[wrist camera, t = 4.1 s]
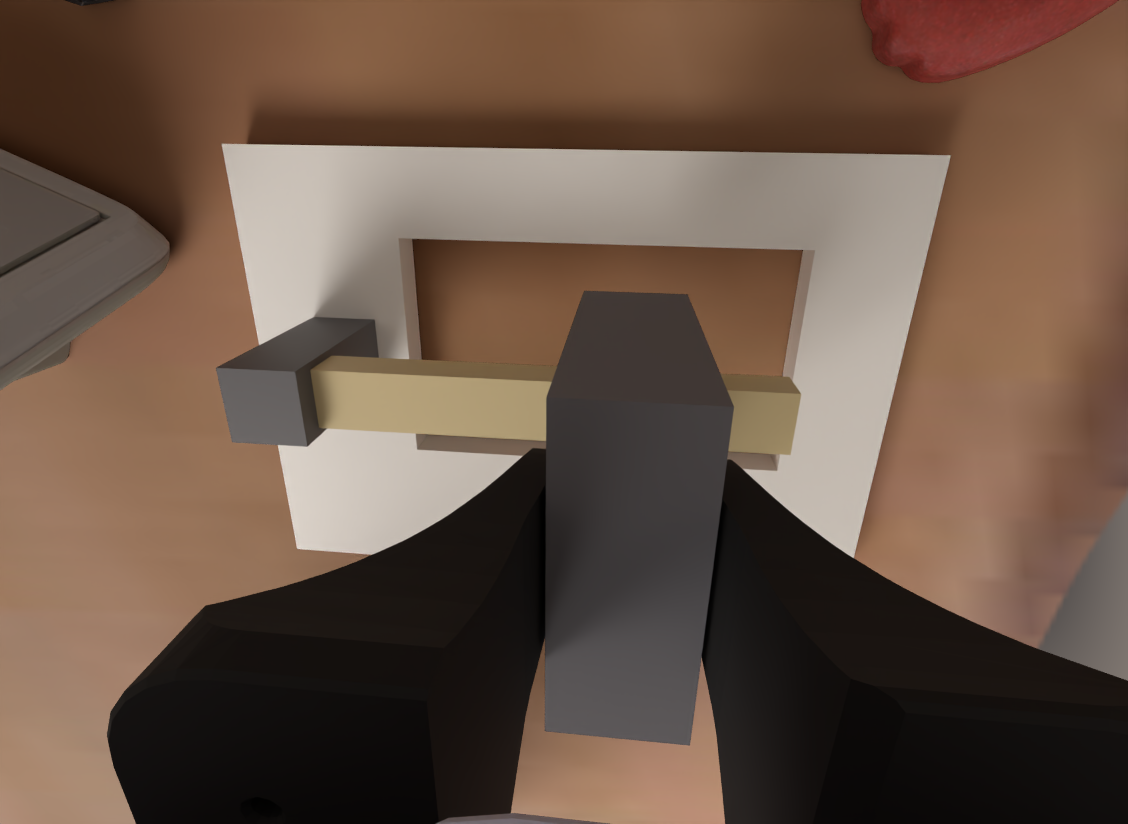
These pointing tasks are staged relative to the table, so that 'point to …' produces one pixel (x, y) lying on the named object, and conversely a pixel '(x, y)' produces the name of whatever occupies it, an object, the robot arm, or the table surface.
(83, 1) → the ammunition clip
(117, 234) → the digital clock
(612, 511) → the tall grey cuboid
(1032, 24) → the stacking bear
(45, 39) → the table surface
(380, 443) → the white slotted board
